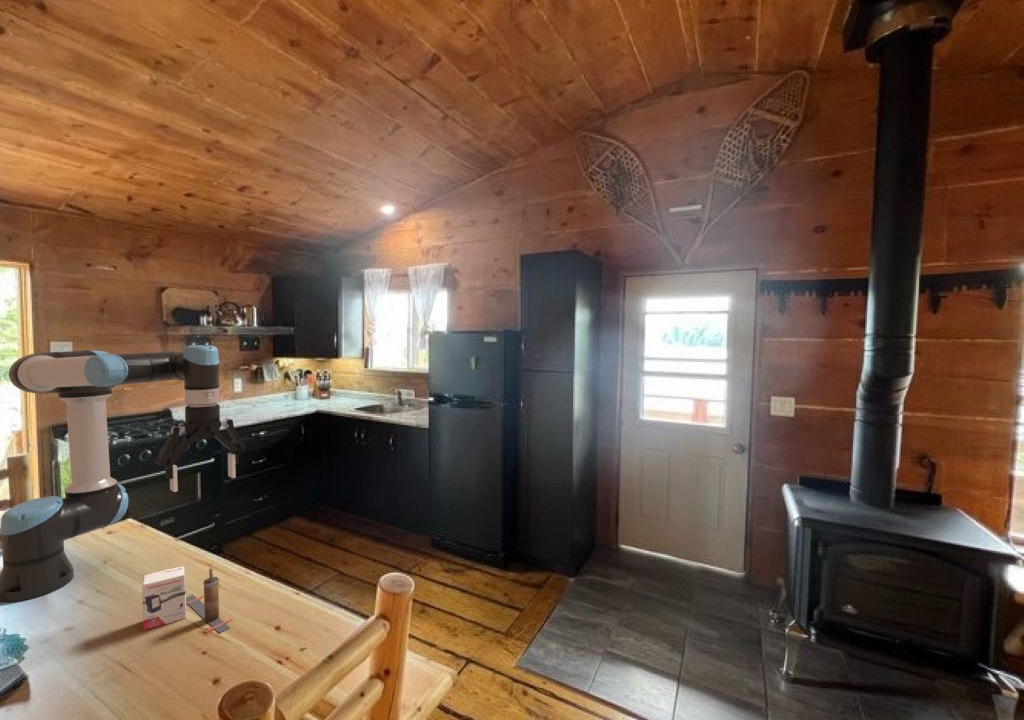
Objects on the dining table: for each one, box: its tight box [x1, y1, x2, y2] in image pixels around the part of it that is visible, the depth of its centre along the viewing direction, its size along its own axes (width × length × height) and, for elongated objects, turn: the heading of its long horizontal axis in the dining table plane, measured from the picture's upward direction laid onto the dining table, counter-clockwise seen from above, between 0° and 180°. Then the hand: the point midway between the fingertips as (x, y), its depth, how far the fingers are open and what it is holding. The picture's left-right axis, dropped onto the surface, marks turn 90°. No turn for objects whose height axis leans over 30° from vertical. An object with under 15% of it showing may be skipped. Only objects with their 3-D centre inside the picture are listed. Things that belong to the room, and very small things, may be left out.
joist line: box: [186, 594, 234, 634], centre depth 116 cm, size 22×6×1 cm, turn 55°
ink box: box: [141, 565, 187, 631], centre depth 113 cm, size 8×5×12 cm, turn 127°
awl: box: [203, 567, 220, 623], centre depth 114 cm, size 3×3×13 cm
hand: (204, 483), depth 120 cm, fingers open, 13 cm apart
